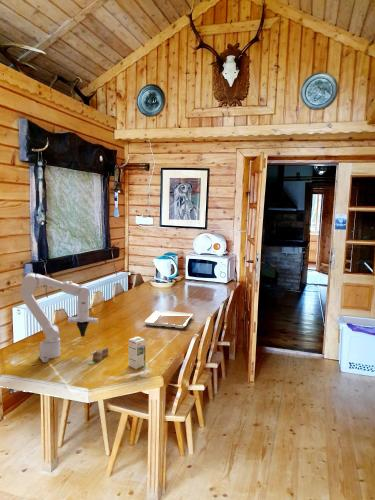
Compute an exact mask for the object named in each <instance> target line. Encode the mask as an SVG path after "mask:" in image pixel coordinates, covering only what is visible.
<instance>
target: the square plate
mask: <svg viewBox="0 0 375 500" xmlns="http://www.w3.org/2000/svg"><path fill="white" fill-rule="evenodd" d="M160 315H161V316H190V317H189V318H188V319H187V320H186V322H185V323H184V324H183V326H182V325H175V324H168V323H154V322H155V321H156V320H157V319H158V317H159V316H160ZM193 315H194V314H193V313H189V312H182V311H181V312H180V311H171V310H155V311H154V312H152V313H151V315H150V316H148V317H147V318H146V319H145V321H144V322H143V323H144V324H145V325H147V326H152V327H153V326H154V327H161V326H165V327H164V328H171V327H175V328H174V329H184V327H186V326H187V325H188V322H190V321H189V320H190V319H191V318H192V317H193Z"/></svg>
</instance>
